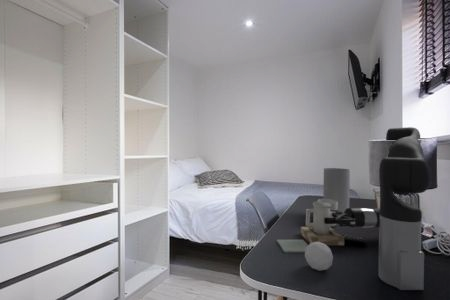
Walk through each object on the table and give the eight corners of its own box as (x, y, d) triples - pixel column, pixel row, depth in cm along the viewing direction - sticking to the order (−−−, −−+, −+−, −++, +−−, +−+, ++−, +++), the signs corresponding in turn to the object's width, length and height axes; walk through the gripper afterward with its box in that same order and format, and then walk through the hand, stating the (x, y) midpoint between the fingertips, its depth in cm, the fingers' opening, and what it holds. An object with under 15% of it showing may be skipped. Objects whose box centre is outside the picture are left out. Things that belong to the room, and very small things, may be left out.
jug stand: (344, 245, 90) (344, 237, 90) (312, 245, 89) (312, 237, 89) (329, 233, 102) (329, 226, 102) (300, 233, 101) (300, 226, 101)
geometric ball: (310, 276, 72) (295, 251, 76) (330, 263, 75) (314, 238, 78) (322, 276, 66) (305, 247, 69) (344, 261, 68) (326, 234, 72)
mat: (313, 252, 83) (313, 250, 83) (284, 252, 83) (284, 250, 83) (302, 241, 93) (302, 239, 93) (276, 241, 93) (276, 239, 93)
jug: (333, 242, 92) (334, 205, 92) (309, 242, 92) (310, 205, 92) (325, 236, 99) (326, 201, 99) (303, 236, 98) (303, 201, 98)
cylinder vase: (354, 218, 125) (355, 169, 125) (336, 220, 120) (337, 170, 120) (335, 212, 136) (336, 167, 136) (317, 214, 132) (318, 168, 132)
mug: (335, 228, 108) (335, 203, 108) (314, 224, 113) (315, 201, 113) (339, 222, 118) (340, 199, 118) (320, 218, 123) (321, 197, 123)
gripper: (350, 204, 103) (312, 203, 102) (372, 213, 89) (328, 212, 88) (350, 221, 103) (312, 221, 103) (371, 233, 89) (327, 233, 88)
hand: (319, 217), depth 95 cm, fingers open, 8 cm apart
